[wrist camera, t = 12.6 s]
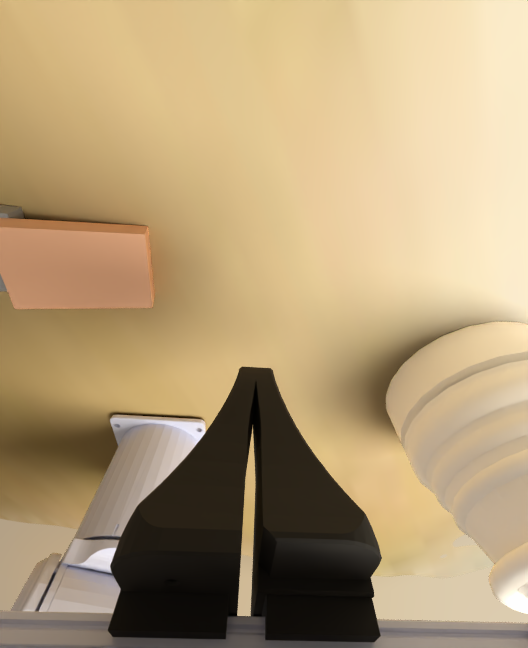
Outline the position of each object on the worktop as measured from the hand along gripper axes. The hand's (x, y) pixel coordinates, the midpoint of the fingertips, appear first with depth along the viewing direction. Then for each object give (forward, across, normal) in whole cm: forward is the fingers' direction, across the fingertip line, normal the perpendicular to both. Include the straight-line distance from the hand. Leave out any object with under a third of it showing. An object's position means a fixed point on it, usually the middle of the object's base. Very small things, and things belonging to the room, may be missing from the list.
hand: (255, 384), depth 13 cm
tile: (+7, +6, -2) cm, 10 cm away
